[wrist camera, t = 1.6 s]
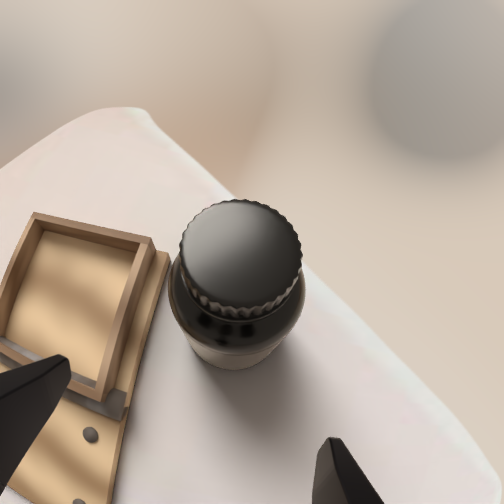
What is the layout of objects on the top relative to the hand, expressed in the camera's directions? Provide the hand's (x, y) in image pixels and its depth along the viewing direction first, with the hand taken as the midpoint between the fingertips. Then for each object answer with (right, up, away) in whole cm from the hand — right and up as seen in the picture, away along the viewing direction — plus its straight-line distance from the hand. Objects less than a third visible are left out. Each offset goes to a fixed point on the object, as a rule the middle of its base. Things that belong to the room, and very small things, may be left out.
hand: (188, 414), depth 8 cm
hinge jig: (-14, -4, +10) cm, 18 cm away
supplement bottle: (+1, 0, +14) cm, 14 cm away
